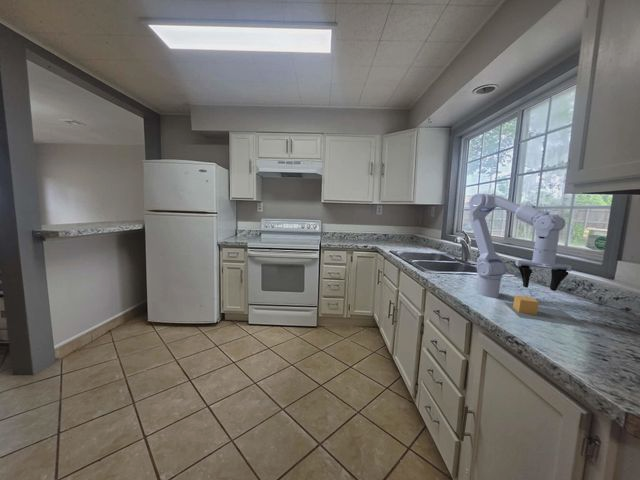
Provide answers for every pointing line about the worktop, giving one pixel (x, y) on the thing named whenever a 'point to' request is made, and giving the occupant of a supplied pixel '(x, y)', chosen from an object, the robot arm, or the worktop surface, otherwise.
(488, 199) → the robot arm
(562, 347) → the worktop surface
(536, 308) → the orange block
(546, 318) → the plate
